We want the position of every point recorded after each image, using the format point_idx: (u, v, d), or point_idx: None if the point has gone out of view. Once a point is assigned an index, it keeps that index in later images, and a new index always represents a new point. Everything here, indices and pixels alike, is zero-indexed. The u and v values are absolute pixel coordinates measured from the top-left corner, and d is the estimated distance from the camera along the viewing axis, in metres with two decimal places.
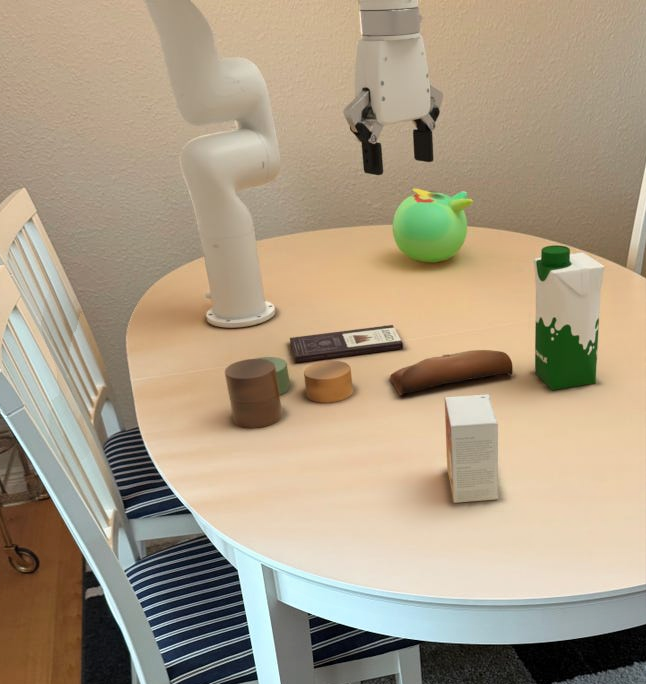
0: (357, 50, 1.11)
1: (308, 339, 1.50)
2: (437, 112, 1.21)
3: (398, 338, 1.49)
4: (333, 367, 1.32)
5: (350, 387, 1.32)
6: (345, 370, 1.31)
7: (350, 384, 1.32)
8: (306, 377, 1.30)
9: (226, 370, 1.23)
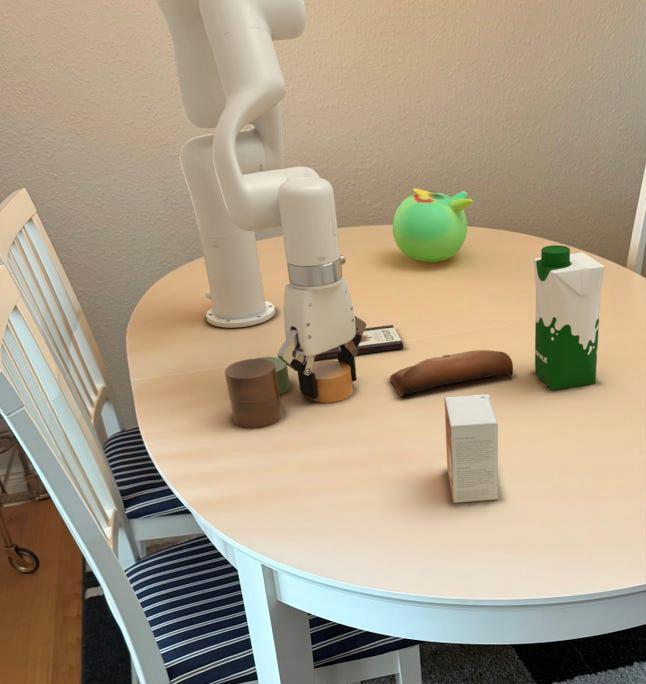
0: (285, 295, 1.23)
1: None
2: (359, 339, 1.33)
3: (398, 338, 1.49)
4: (333, 367, 1.32)
5: (350, 387, 1.32)
6: (345, 370, 1.31)
7: (350, 384, 1.32)
8: None
9: (226, 370, 1.23)
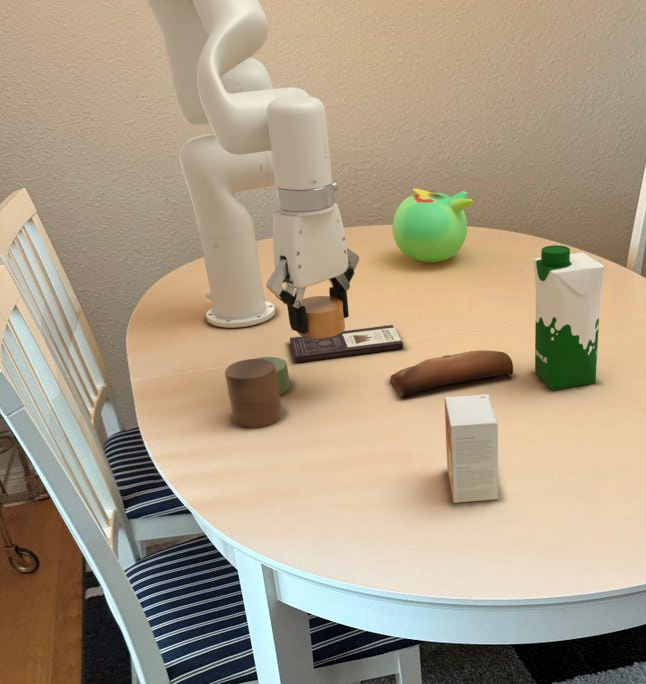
0: (274, 222, 1.18)
1: (308, 339, 1.50)
2: (351, 273, 1.28)
3: (398, 338, 1.49)
4: (324, 302, 1.27)
5: (342, 323, 1.27)
6: (337, 305, 1.26)
7: (342, 320, 1.27)
8: None
9: (226, 370, 1.23)
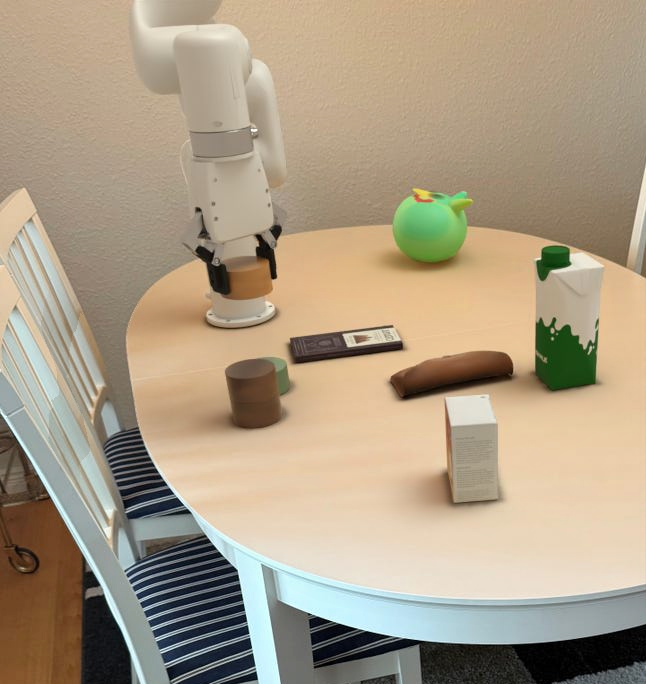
0: (187, 170, 1.08)
1: (308, 339, 1.50)
2: (279, 230, 1.18)
3: (398, 338, 1.49)
4: (249, 261, 1.17)
5: (268, 284, 1.17)
6: (262, 263, 1.16)
7: (268, 280, 1.17)
8: None
9: (226, 370, 1.23)
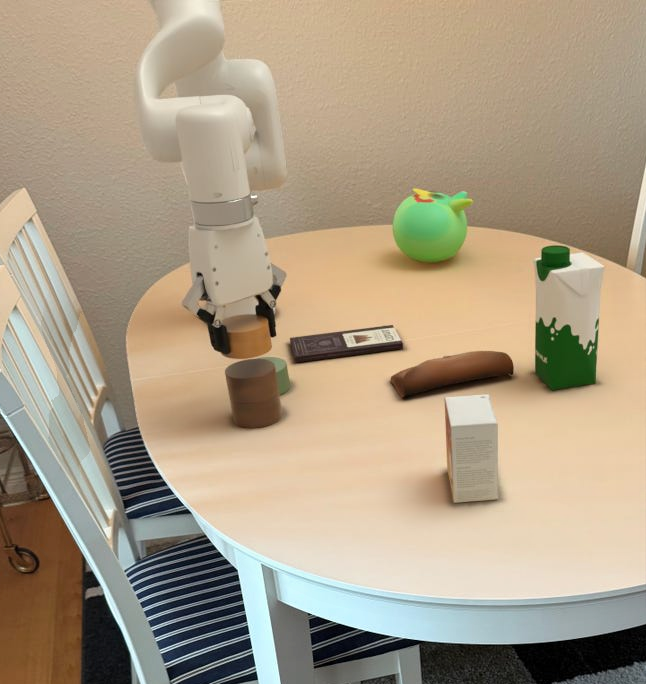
0: (189, 237, 1.11)
1: (308, 339, 1.50)
2: (278, 290, 1.21)
3: (398, 338, 1.49)
4: (249, 321, 1.20)
5: (268, 342, 1.20)
6: (261, 323, 1.19)
7: (268, 339, 1.20)
8: None
9: (226, 370, 1.23)
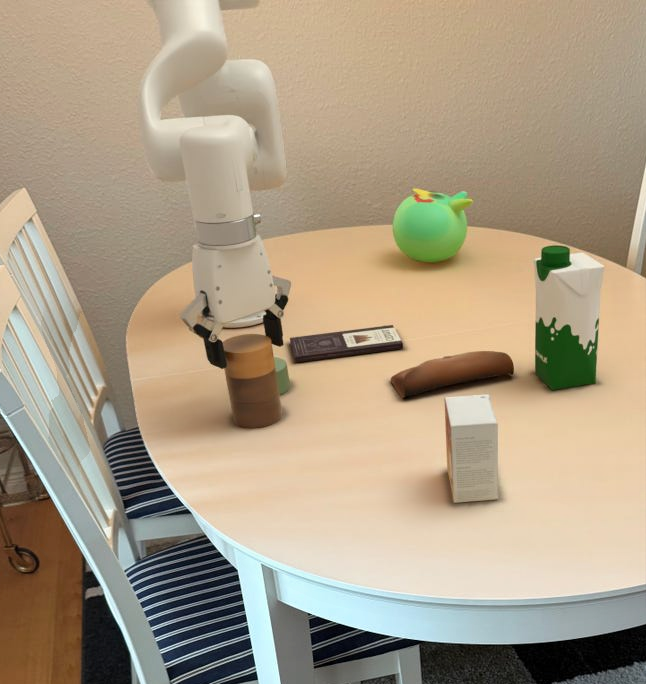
0: (193, 256, 1.13)
1: (308, 339, 1.50)
2: (285, 300, 1.23)
3: (398, 338, 1.49)
4: (252, 341, 1.22)
5: (271, 362, 1.22)
6: (265, 343, 1.21)
7: (271, 359, 1.22)
8: None
9: None
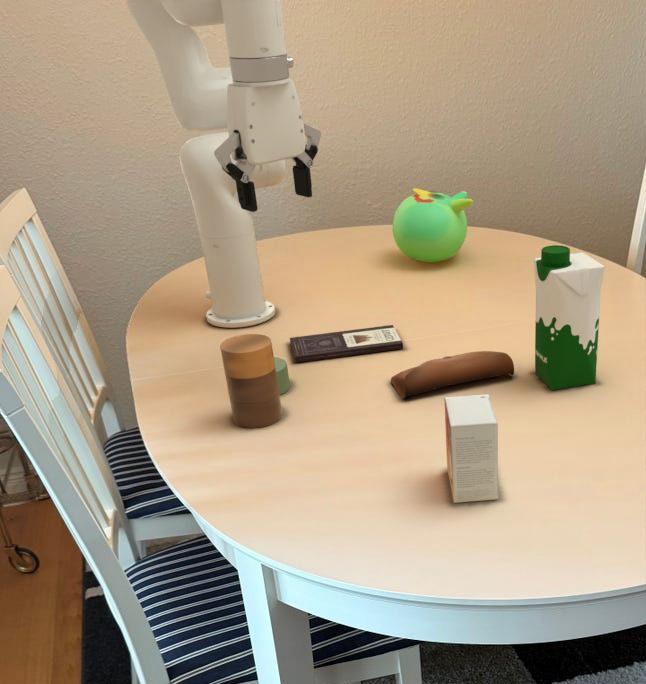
0: (227, 94, 1.16)
1: (308, 339, 1.50)
2: (315, 150, 1.26)
3: (398, 338, 1.49)
4: (252, 341, 1.22)
5: (271, 362, 1.22)
6: (265, 343, 1.21)
7: (271, 359, 1.22)
8: (222, 351, 1.20)
9: None
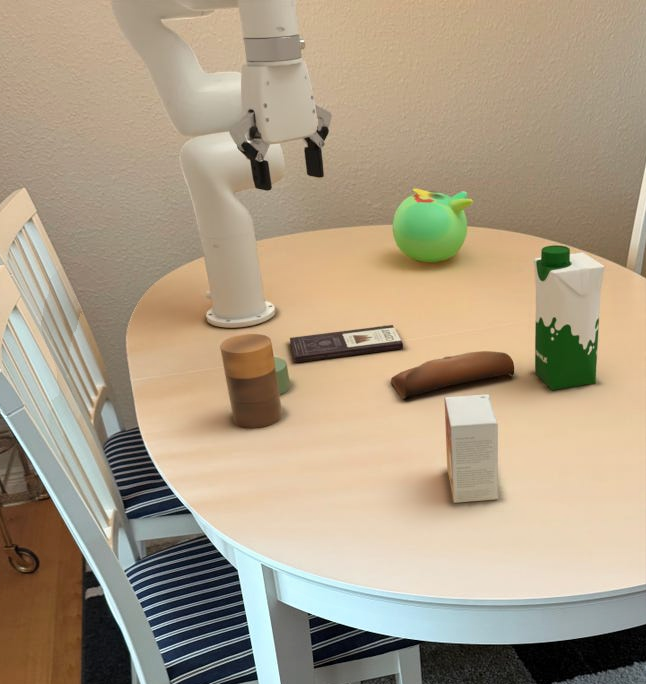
0: (242, 75, 1.19)
1: (308, 339, 1.50)
2: (326, 131, 1.29)
3: (398, 338, 1.49)
4: (252, 341, 1.22)
5: (271, 362, 1.22)
6: (265, 343, 1.21)
7: (271, 359, 1.22)
8: (222, 351, 1.20)
9: None
